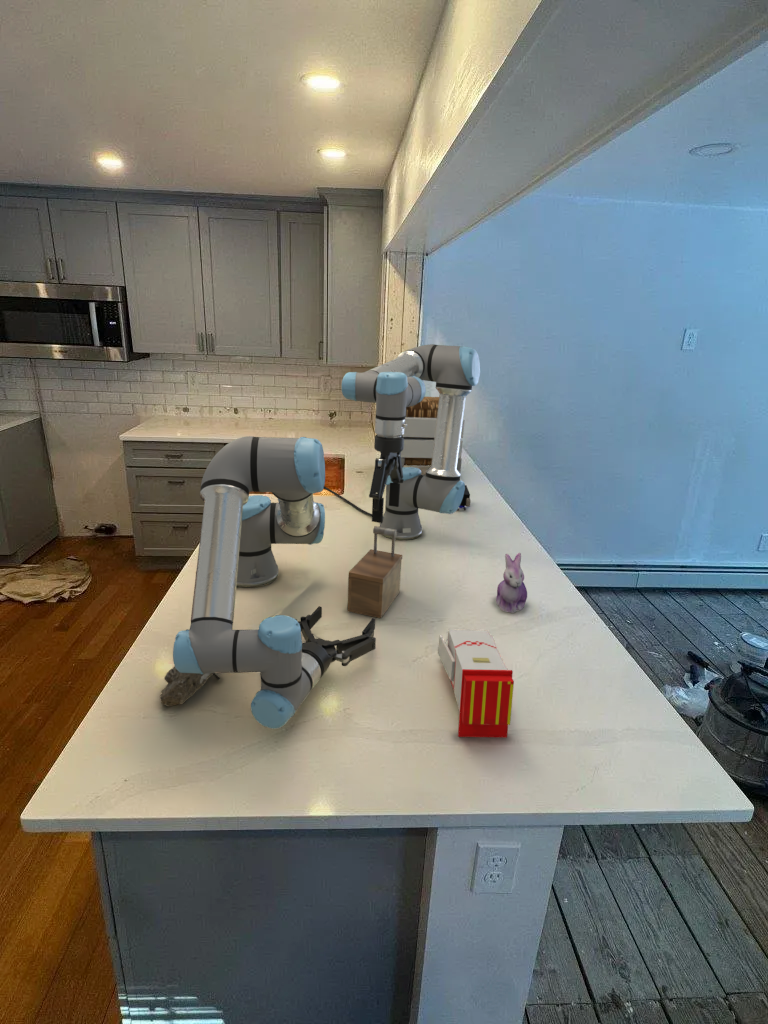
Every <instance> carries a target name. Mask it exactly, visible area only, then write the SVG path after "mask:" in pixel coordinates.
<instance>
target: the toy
mask: <svg viewBox="0 0 768 1024" xmlns="http://www.w3.org/2000/svg"><path fill="white" fill-rule="evenodd" d="M446 640H447V643H446V641H445V639H444V636H443V635H442V634H439V637H438V646H437V656H438V657H439V659H440V661H441V663H442V666H443V668H444V670H445V672H446V674H447V677H448V679H449V681H450V684H451V687H452V690H453V693H454V697H455V701H456V705H457V708H458V711H459V714H458V715H459V716H458V730H457V731H458V732H457V737H458V738H508V731H509V726H510V725H511V717H512V707H513V697H514V696H513V695H514V684H515V680H514V679H513V673H514V671H513V670H512V669H508V667H507V665H506V662H505V661H504V659H503V658H502V655H501V653H500V651H499V649H498V647H497V643H496V639H495V637H494V635H493V634H491V632H490V631H489V629H467V628H466V629H465V628H463V629H461V628H460V629H459V628H448V630H447V639H446Z"/></svg>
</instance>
